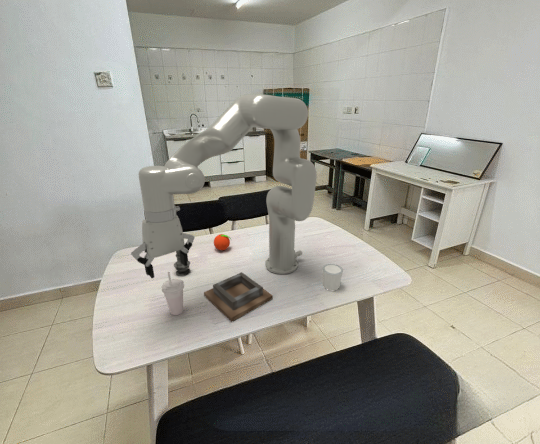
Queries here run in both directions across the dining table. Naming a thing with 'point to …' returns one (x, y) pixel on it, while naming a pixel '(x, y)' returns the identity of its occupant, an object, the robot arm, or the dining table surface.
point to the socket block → (237, 296)
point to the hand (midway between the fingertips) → (168, 270)
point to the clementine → (221, 242)
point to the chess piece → (181, 266)
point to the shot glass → (332, 276)
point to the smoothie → (174, 294)
